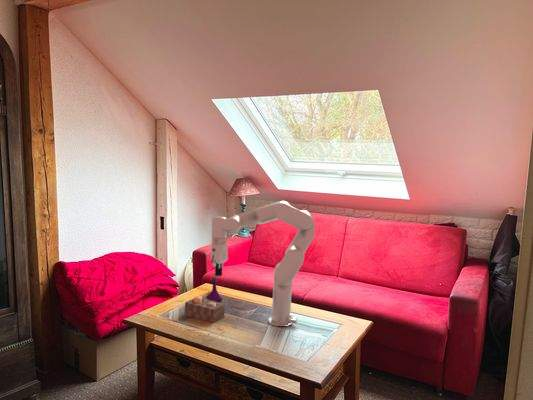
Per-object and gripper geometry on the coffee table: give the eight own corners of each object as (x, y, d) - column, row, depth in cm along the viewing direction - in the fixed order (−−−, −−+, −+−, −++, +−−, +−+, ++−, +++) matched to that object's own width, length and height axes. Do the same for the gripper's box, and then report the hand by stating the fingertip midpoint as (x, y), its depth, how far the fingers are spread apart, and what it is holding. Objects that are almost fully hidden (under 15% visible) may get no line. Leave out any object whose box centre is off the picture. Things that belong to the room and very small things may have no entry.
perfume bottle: (205, 302, 231) (207, 271, 230) (218, 301, 235) (219, 270, 233) (209, 306, 225) (211, 275, 223) (222, 305, 228) (223, 274, 226)
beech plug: (217, 316, 210) (217, 303, 209) (212, 318, 206) (213, 305, 206) (210, 314, 212) (211, 301, 211) (206, 317, 208) (206, 304, 207)
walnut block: (224, 316, 211) (224, 303, 211) (213, 323, 202) (214, 309, 202) (196, 309, 219) (196, 297, 219) (184, 315, 210) (185, 302, 210)
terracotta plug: (202, 309, 214) (203, 297, 213) (198, 312, 210) (199, 299, 209) (196, 308, 215) (197, 295, 215) (192, 310, 212) (192, 297, 211)
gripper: (217, 243, 198) (217, 280, 200) (232, 239, 212) (232, 273, 213) (204, 242, 201) (204, 278, 203) (220, 237, 215) (219, 271, 216)
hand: (218, 275), depth 208 cm, fingers closed
